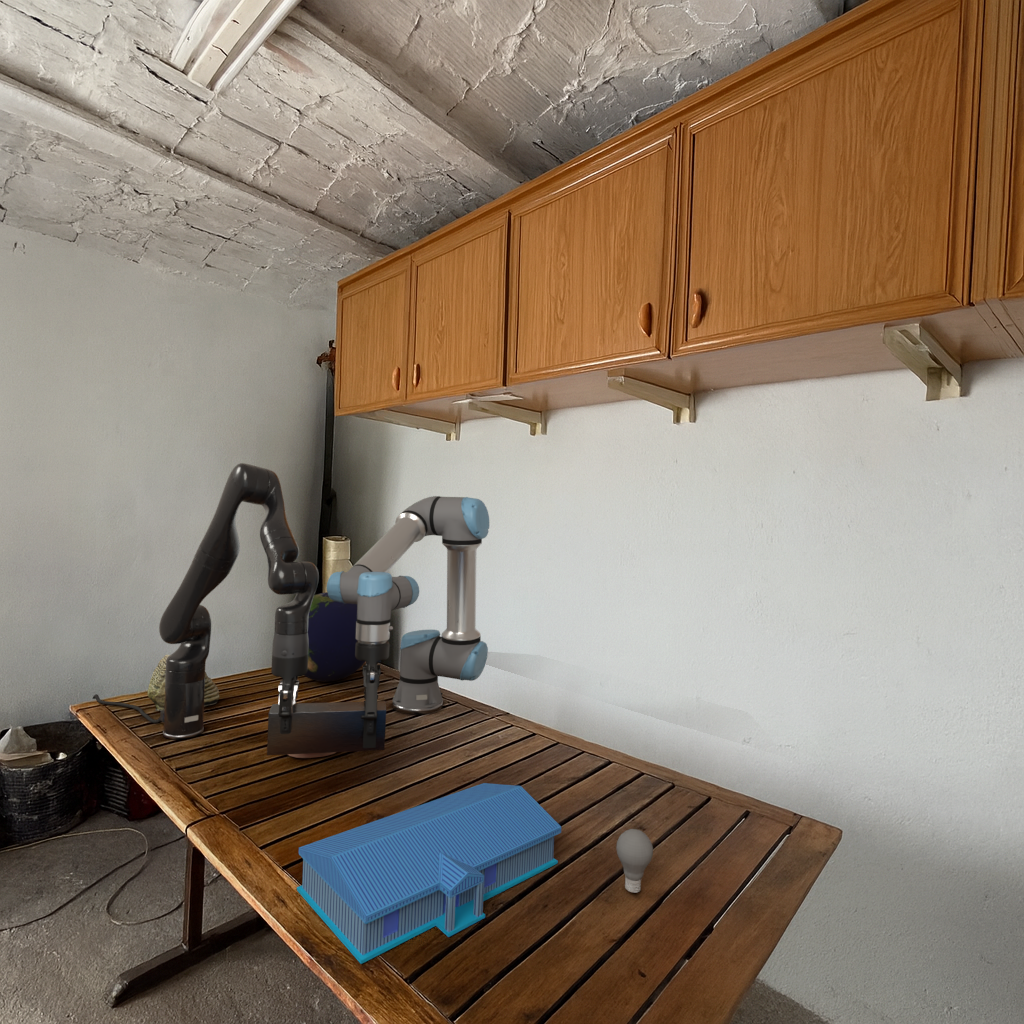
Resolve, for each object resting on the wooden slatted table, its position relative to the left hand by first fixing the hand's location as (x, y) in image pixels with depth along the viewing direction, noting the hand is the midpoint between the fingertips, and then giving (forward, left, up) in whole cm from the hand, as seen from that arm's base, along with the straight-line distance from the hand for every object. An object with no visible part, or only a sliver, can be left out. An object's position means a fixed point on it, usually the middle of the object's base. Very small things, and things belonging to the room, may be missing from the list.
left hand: (287, 727), depth 140 cm
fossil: (-64, -2, -12) cm, 66 cm away
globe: (-65, +44, -12) cm, 79 cm away
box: (+4, +8, -5) cm, 10 cm away
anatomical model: (-13, +13, -12) cm, 21 cm away
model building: (+50, +5, -12) cm, 52 cm away
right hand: (+9, +15, -3) cm, 18 cm away
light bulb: (+73, +28, -12) cm, 79 cm away
